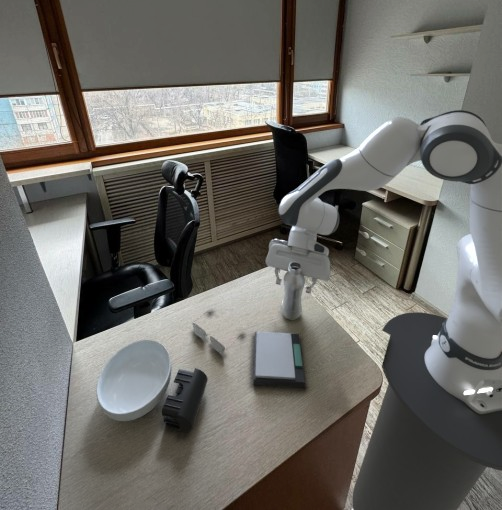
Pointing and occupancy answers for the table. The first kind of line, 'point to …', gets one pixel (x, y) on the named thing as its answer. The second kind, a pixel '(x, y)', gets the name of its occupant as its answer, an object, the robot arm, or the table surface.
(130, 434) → the table surface
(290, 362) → the scale
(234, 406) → the table surface
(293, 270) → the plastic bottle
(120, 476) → the table surface
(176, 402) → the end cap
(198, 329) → the eyeglasses
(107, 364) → the cereal bowl
